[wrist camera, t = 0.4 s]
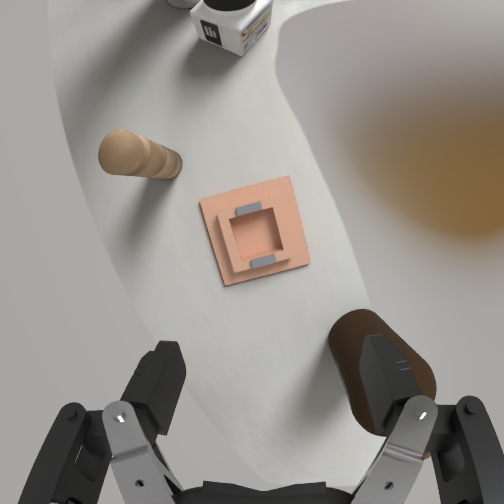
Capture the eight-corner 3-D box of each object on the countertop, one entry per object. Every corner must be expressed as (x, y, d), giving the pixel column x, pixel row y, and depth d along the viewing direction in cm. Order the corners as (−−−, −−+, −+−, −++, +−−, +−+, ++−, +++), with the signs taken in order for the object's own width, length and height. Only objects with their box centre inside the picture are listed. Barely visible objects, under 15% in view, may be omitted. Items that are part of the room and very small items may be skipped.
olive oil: (357, 291, 38) (454, 400, 14) (396, 326, 40) (481, 424, 15) (310, 342, 40) (355, 478, 16) (352, 370, 42) (407, 485, 17)
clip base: (200, 199, 36) (195, 201, 32) (288, 175, 35) (292, 174, 31) (225, 283, 38) (223, 293, 35) (309, 261, 37) (315, 269, 34)
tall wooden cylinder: (151, 156, 34) (94, 140, 20) (178, 146, 34) (132, 121, 19) (158, 183, 35) (103, 181, 20) (185, 173, 35) (142, 164, 20)
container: (242, 57, 31) (237, 6, 18) (198, 38, 30) (178, -12, 17) (271, 25, 30) (277, -29, 17) (227, 7, 29) (219, -45, 16)
